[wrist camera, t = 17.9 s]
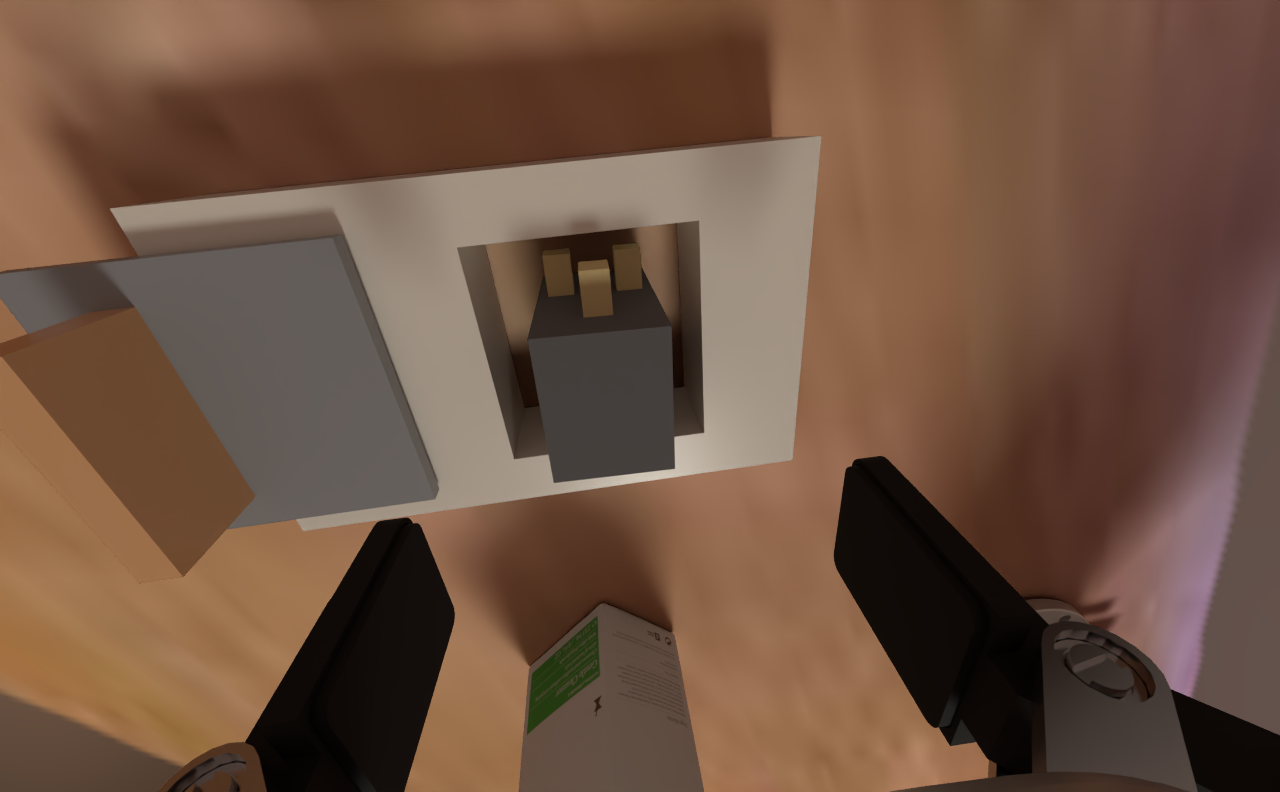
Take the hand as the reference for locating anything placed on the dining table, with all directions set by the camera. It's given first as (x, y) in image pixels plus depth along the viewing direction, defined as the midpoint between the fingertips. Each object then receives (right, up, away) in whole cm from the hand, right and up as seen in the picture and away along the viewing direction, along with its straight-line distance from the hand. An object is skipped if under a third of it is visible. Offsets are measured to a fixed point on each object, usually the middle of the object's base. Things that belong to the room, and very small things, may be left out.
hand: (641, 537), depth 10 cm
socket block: (-4, +6, +9) cm, 12 cm away
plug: (-2, +6, +10) cm, 12 cm away
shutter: (-13, +3, +5) cm, 14 cm away
